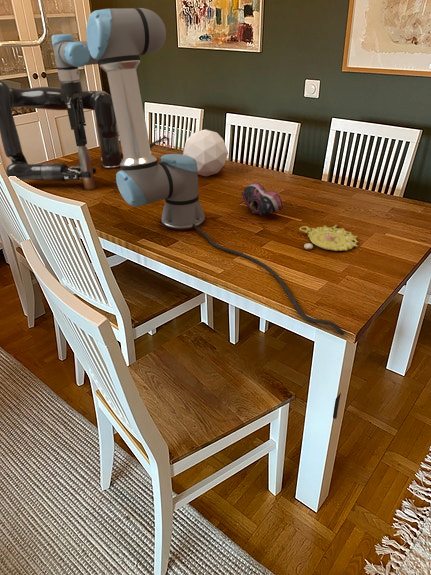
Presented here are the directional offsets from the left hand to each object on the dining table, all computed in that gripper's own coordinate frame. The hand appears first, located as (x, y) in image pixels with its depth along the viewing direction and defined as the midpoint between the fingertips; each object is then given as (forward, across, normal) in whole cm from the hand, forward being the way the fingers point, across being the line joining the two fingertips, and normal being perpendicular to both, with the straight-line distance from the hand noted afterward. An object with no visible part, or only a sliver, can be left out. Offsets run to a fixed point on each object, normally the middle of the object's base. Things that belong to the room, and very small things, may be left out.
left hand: (93, 172), depth 185 cm
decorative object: (+93, -43, +6) cm, 103 cm away
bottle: (-3, 0, +6) cm, 7 cm away
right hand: (-3, 0, -12) cm, 12 cm away
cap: (-3, 0, -14) cm, 14 cm away
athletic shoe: (+70, -21, +6) cm, 73 cm away
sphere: (+45, +19, +6) cm, 49 cm away
